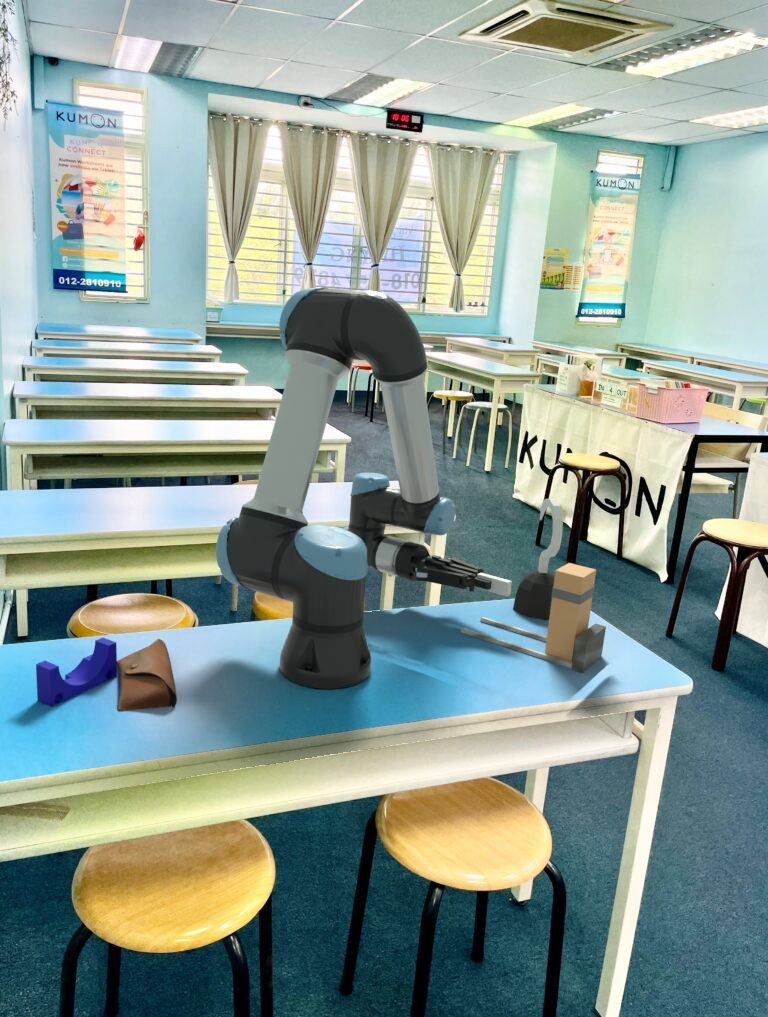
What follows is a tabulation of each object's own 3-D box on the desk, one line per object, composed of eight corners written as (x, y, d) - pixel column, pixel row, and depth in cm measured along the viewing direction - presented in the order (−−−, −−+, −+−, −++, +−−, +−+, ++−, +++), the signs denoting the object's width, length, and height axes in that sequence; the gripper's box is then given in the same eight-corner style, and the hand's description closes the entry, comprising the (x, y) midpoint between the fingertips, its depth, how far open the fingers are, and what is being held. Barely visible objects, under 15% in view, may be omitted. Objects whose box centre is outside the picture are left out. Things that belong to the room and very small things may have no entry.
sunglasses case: (112, 659, 127) (134, 625, 127) (151, 675, 130) (172, 642, 130) (117, 713, 111) (141, 674, 111) (160, 730, 114) (184, 692, 114)
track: (459, 640, 145) (462, 603, 143) (482, 626, 152) (486, 591, 150) (581, 680, 132) (586, 641, 130) (600, 664, 139) (605, 626, 137)
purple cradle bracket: (97, 669, 124) (96, 635, 123) (117, 677, 122) (116, 642, 120) (30, 699, 114) (29, 661, 112) (51, 708, 112) (49, 669, 110)
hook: (504, 606, 164) (517, 491, 158) (554, 607, 165) (569, 493, 159) (520, 627, 153) (534, 504, 147) (573, 628, 154) (589, 506, 148)
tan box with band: (543, 656, 137) (554, 570, 133) (557, 645, 142) (568, 562, 138) (571, 665, 134) (583, 577, 130) (585, 654, 139) (597, 569, 135)
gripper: (419, 570, 162) (522, 600, 149) (383, 583, 151) (490, 616, 138) (422, 536, 160) (527, 562, 147) (386, 546, 150) (495, 576, 137)
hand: (509, 588), depth 143 cm, fingers closed
